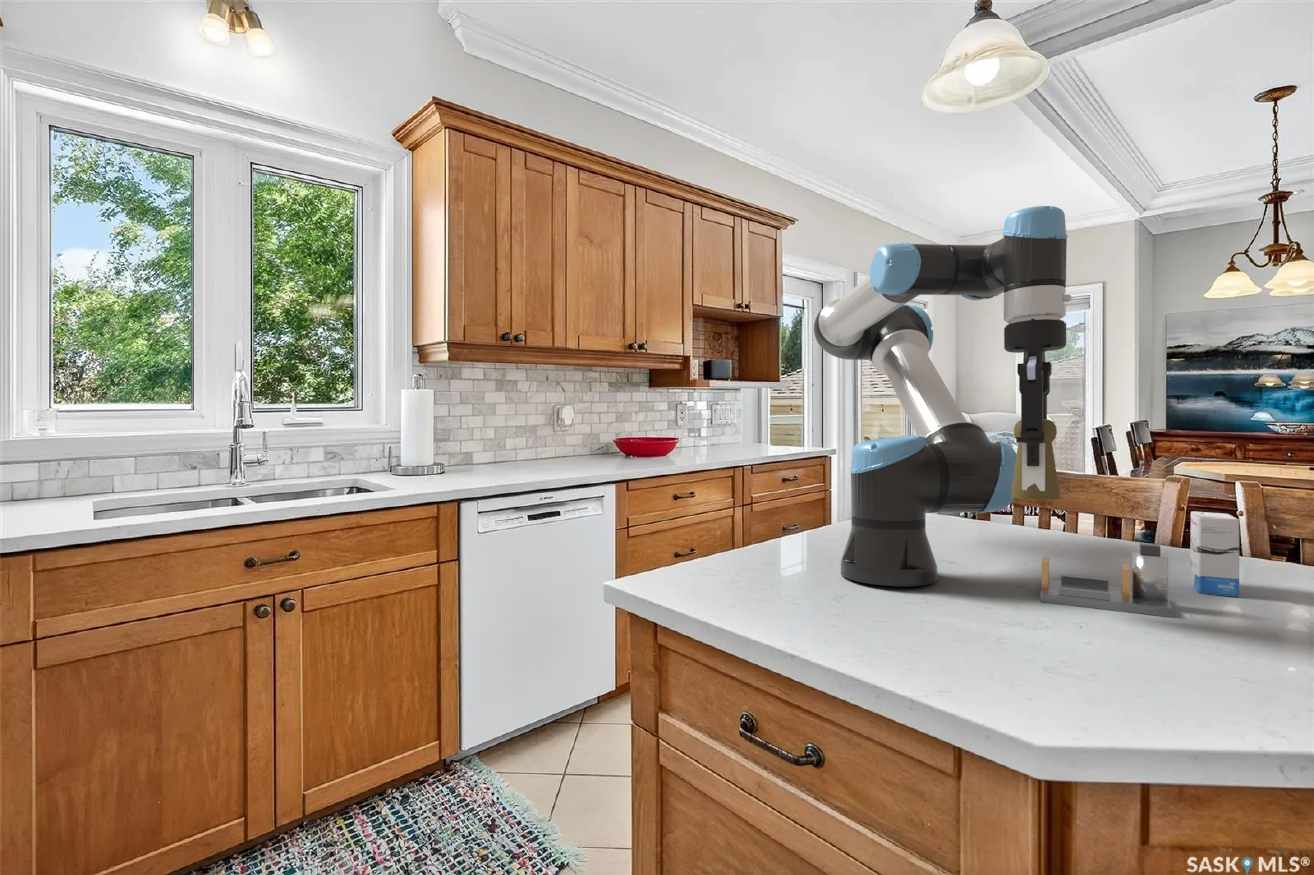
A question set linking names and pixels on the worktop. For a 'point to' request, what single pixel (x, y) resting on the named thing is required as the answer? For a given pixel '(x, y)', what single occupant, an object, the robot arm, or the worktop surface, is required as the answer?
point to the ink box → (1214, 553)
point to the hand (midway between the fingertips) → (1034, 488)
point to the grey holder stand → (1096, 593)
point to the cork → (1050, 467)
